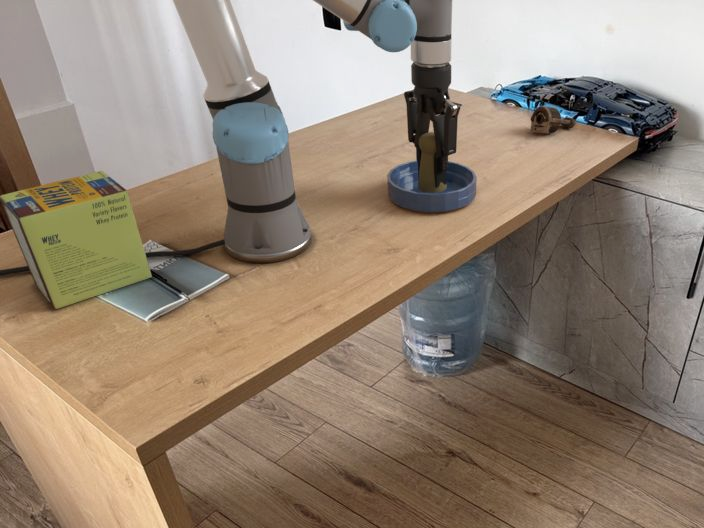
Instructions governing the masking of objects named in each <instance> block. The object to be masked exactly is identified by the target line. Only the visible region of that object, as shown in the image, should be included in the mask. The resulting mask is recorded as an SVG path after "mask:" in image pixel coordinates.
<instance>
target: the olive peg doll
mask: <svg viewBox="0 0 704 528" xmlns="http://www.w3.org/2000/svg"><path fill="white" fill-rule="evenodd" d="M419 147H420V149H421V151H422V153H421V161H420V170H419V179H418V189H419V190H421V191H423V192H428V193H437V192H441V191H444V190H445V189H446V187H447V186H446V184H445V185H444V183H442V182H440V185H439V187H437V188H436V186H435V176H434V155H435V154H437V151H436V144H435V137H434V131H433V132H432V131H431V132H429V133H424V134H423V135H421V137H420V139H419Z"/></svg>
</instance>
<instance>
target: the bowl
mask: <svg viewBox="0 0 704 528" xmlns="http://www.w3.org/2000/svg"><path fill="white" fill-rule="evenodd" d="M386 180H387V181H386V183H387V195H388V199H389V200H390V201H391V202H392V203H394V204H395V205H398V206H399V207H401V208H403V209H408V210H410V211H413V212H420V213H431V214H432V213H433V214H434V213H435V214H437V213H445V212H451V211H455V210H459V209H460V208H463V207H465V206H468V205H469V204H470V203H472V202H473V201H474V200H475V198H476V194H477V180H478V178H477V175H476V172H475V171H474V170H473V169H472V168H470V167H468V166H466V165H464V164H461V163H459V162H455V161H450V160H448V170H447V171H446V186H447V187H446V189H445V190H444V191H441V192H437V193H428V192H423V191H421V190H419V189H418V162H417V160H411V161H407V162H403V163H401V164H398V165H396V166H394V167H392V168H391V169H390V170H389V172H388V173H387V174H386Z"/></svg>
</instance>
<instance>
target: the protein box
mask: <svg viewBox="0 0 704 528" xmlns="http://www.w3.org/2000/svg"><path fill="white" fill-rule="evenodd" d="M0 203H1V205H2V208H3V210H4V213H5V215H6V217H7V219H8V222H9V225H10V227H11V229H12V232H13V235H14V236H15V239H16V241H17V244H18V247H19V248H20V251H21V253H22V256H23V258H24V260H25V263H26V266H28V268H29V270H30V271H29V274H30V275H31V278H32V280H33V282H34V285H35V286H36V288H38V289H39V291H40V292H41V294H42V295H43V296H44V297H45V298H46V300H47V301H48V302H49V304H50V305H51V306H52V307H53V309H54V310H59V309H61V308H64V307H67V306H70V305H73V304H76V303H79V302H82V301H85V300H88V299H92V298H94V297H97V296H100V295H103V294H106V293H109V292H112V291H114V290H119V289H121V288H124V287H127V286H130V285H133V284H136V283H139V282H142V281H145V280H148V279H151V278H152V277H153V274H152V271H151V268H150V265H149V261H148V258H147V257H146V254H145V253H146V251H145V247H144V243H143V241H142V238H141V235H140V231H139V227H138V224H137V220H136V217H135V214H134V211H133V206H132V203H131V199H130V196H129V193H128V190H127V189H126V188H125V187H123V186H122V185H121V184H120V183H118V182H117V181H116V180H114V179H113V178H112V177H111V176H110V175H108V174H107V173H106V172H104V171H103V170H99V171H93V172H90V173H87V174H83V175H79V176H75V177H71V178H65V179H61V180H58V181H54V182H48V183H44V184H41V185H38V186H34V187H29V188H25V189H20V190H17V191H13V192H9V193H5V194H1V195H0Z"/></svg>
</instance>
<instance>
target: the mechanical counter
mask: <svg viewBox="0 0 704 528" xmlns="http://www.w3.org/2000/svg"><path fill="white" fill-rule="evenodd" d="M530 121H531V122H530V130H529V131H530V133H538V134H545V135H546V134H554V133H556V132H557V131H558V130H559V129H560V127H563V128H565V129H572V128H574V127H575V126H576V124H577V121H576V119H574V118H573V117H570V116H567V117H563V118H562V115H561V112H560V111H559V110H558V109H557V108H555V107H551V106H546V105H539V106H538V107H536V108H535V109H534V111H533V113H532V115H531V116H530Z"/></svg>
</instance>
